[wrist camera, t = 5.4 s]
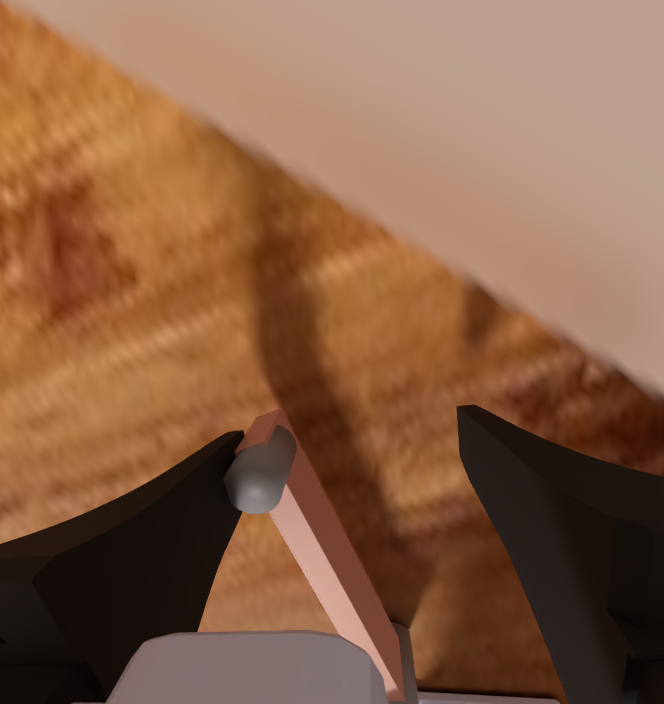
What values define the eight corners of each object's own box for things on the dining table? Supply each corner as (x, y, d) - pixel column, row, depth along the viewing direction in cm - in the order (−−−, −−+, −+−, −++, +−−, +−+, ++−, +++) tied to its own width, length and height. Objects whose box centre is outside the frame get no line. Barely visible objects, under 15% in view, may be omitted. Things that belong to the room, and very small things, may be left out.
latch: (415, 643, 17) (431, 757, 13) (381, 649, 18) (387, 762, 14) (292, 398, 14) (264, 455, 10) (253, 412, 14) (211, 474, 10)
